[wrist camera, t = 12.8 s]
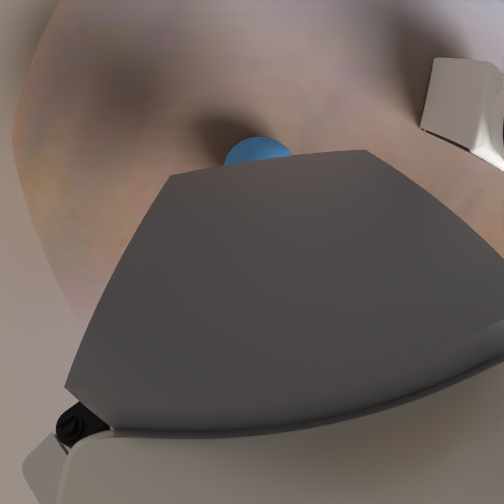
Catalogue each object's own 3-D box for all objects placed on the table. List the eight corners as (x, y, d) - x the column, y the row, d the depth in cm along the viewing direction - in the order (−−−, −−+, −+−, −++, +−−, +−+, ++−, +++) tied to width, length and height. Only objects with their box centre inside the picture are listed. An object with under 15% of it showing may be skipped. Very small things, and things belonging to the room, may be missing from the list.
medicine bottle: (417, 128, 19) (522, 182, 9) (432, 56, 15) (544, 70, 5) (468, 152, 20) (557, 209, 10) (482, 88, 16) (579, 122, 6)
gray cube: (365, 149, 10) (539, 299, 3) (356, 294, 14) (416, 447, 7) (170, 175, 10) (64, 386, 3) (213, 316, 15) (206, 485, 7)
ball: (298, 220, 20) (287, 168, 22) (308, 174, 15) (292, 120, 18) (227, 226, 20) (225, 173, 22) (219, 180, 15) (218, 125, 18)
